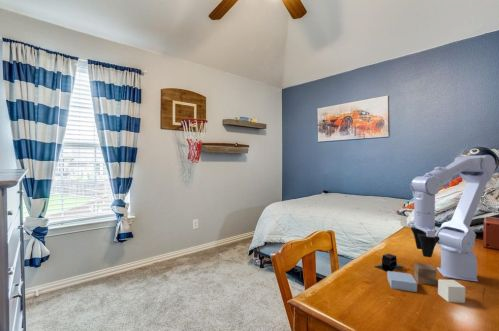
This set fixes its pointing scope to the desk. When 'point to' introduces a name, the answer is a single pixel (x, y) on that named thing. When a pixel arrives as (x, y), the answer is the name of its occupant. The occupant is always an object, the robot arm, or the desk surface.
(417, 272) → the walnut cube
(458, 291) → the cream cube
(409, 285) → the blue slab
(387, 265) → the black rectangular box
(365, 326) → the desk surface
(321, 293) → the desk surface
